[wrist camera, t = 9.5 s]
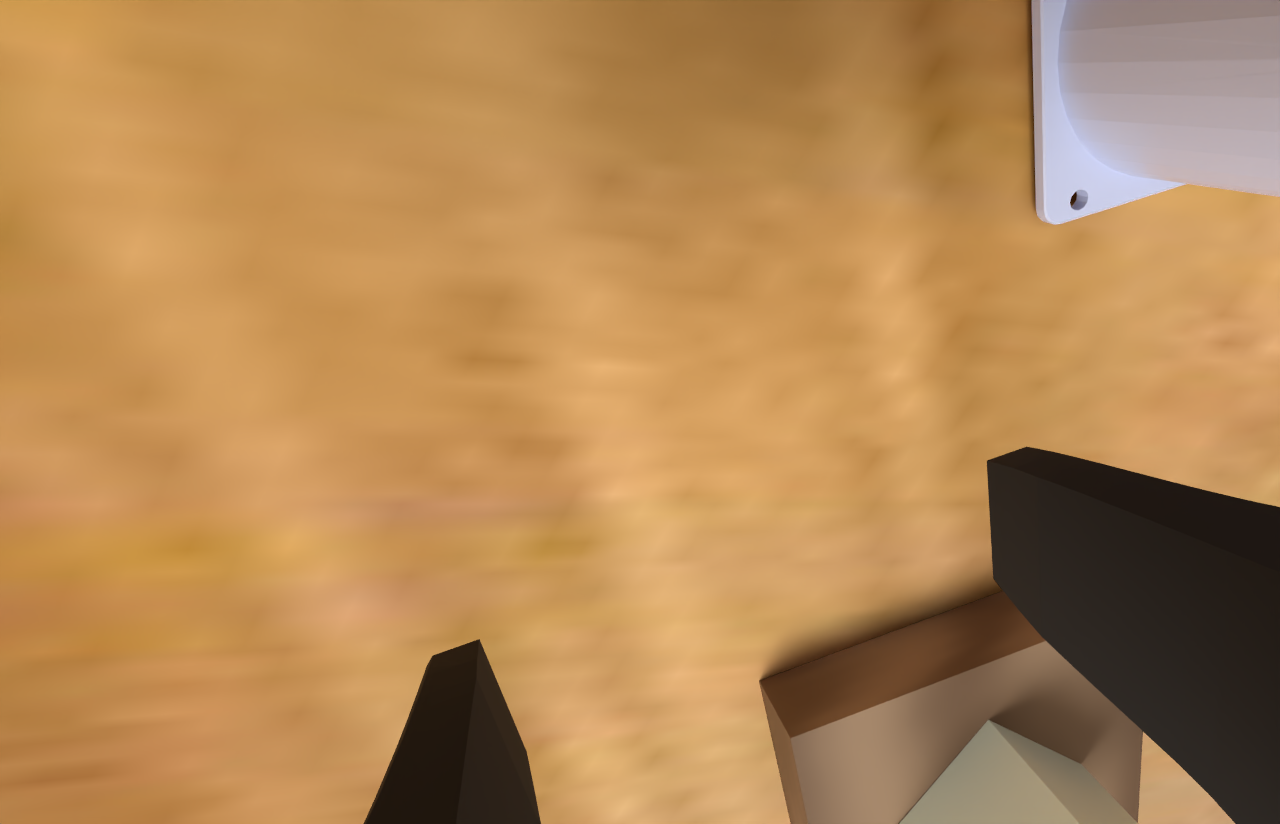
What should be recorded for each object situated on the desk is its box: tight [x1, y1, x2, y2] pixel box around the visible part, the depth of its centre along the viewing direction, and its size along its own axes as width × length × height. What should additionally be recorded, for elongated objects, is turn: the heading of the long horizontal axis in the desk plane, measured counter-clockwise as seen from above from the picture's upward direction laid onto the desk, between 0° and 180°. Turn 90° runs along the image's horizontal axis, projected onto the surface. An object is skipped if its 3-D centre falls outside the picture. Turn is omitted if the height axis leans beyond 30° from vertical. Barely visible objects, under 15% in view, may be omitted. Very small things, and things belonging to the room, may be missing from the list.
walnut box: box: [759, 591, 1143, 824], centre depth 28 cm, size 12×12×3 cm
